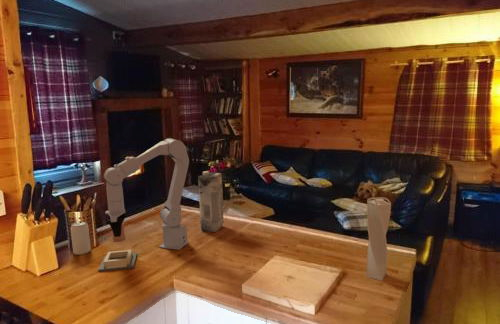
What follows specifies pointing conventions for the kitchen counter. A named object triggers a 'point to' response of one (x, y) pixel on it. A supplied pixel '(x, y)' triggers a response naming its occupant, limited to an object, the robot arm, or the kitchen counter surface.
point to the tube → (122, 237)
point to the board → (118, 260)
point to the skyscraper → (377, 237)
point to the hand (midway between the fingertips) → (118, 233)
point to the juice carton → (210, 201)
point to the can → (80, 238)
